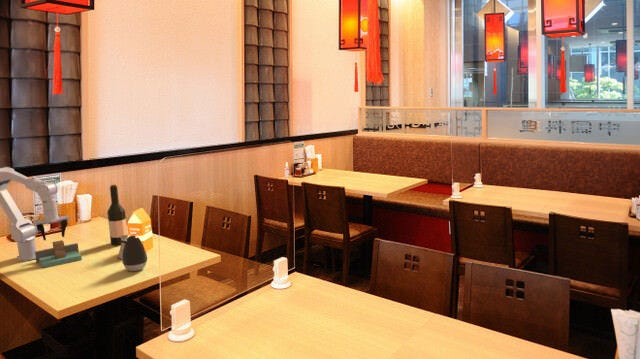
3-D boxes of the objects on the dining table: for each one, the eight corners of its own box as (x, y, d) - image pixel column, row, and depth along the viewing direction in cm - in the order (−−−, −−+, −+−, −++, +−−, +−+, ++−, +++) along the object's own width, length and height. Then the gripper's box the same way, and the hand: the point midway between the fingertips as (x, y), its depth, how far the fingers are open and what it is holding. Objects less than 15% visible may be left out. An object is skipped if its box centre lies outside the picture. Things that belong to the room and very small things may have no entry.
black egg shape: (118, 270, 221) (114, 236, 218) (141, 263, 228) (137, 230, 225) (129, 275, 214) (126, 240, 211) (152, 268, 221) (149, 234, 219)
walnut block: (54, 256, 235) (52, 242, 234) (63, 254, 238) (62, 240, 236) (56, 258, 232) (54, 244, 231) (65, 256, 234) (63, 242, 233)
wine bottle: (131, 242, 261) (125, 184, 255) (117, 246, 254) (111, 187, 248) (121, 239, 265) (115, 182, 259) (107, 244, 258) (100, 186, 252)
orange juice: (129, 252, 244) (125, 212, 240) (139, 246, 252) (135, 207, 248) (145, 253, 242) (140, 212, 239) (153, 247, 251) (150, 207, 247)
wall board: (36, 261, 235) (34, 251, 234) (78, 253, 246) (77, 243, 245) (40, 268, 226) (39, 257, 225) (84, 259, 237) (82, 248, 236)
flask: (128, 259, 234) (126, 238, 232) (114, 259, 235) (112, 238, 233) (137, 254, 241) (135, 234, 239) (123, 254, 242) (121, 233, 240)
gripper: (33, 214, 225) (37, 243, 228) (69, 208, 234) (73, 236, 236) (31, 211, 231) (35, 240, 233) (66, 205, 239) (69, 233, 242)
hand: (54, 238), depth 235 cm, fingers open, 7 cm apart
